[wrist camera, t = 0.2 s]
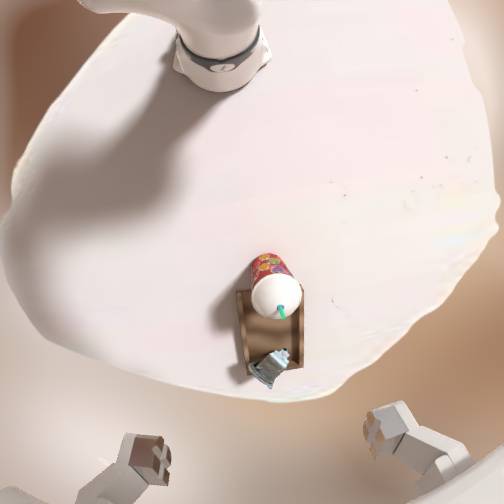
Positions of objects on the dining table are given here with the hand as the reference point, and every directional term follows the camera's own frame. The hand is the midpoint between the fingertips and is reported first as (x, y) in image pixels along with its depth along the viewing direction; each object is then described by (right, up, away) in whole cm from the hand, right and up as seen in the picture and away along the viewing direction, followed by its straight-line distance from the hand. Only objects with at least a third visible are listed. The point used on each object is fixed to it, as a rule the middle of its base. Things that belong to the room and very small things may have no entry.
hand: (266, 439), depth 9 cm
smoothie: (+3, +4, +49) cm, 50 cm away
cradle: (+4, -11, +54) cm, 56 cm away
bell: (+4, -15, +56) cm, 58 cm away
